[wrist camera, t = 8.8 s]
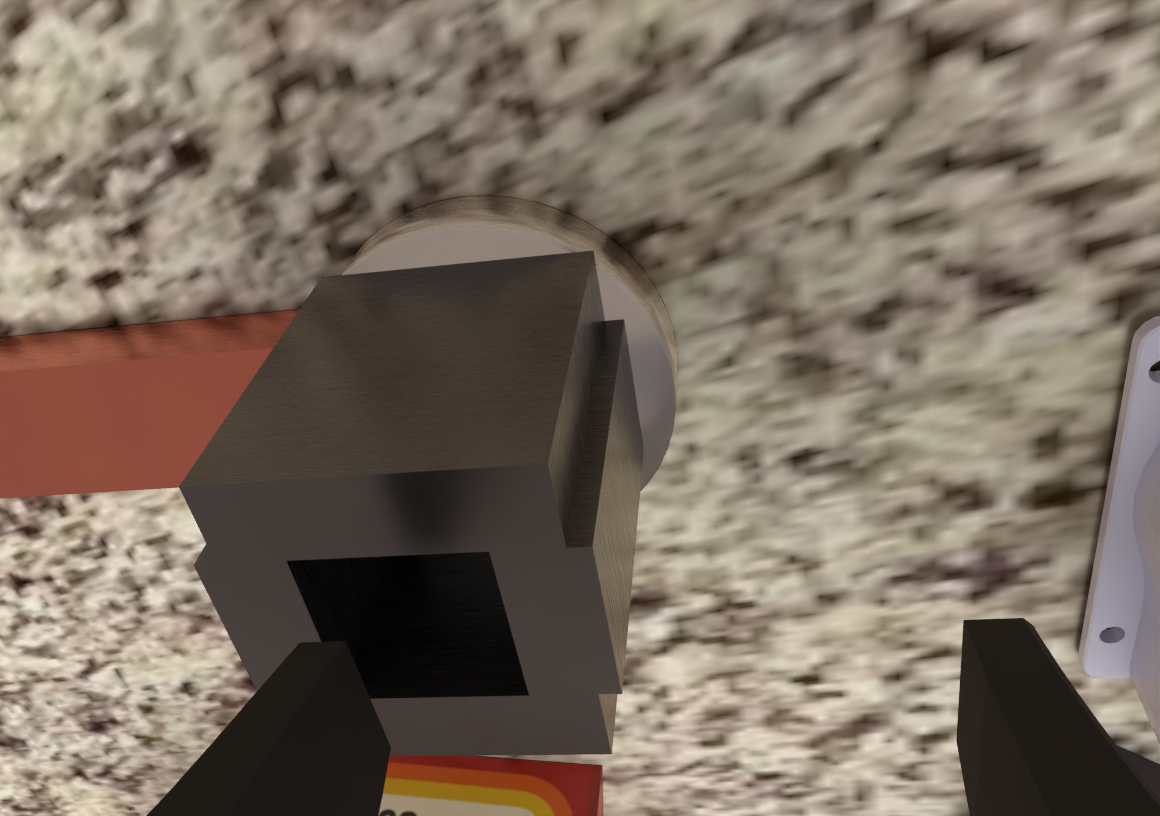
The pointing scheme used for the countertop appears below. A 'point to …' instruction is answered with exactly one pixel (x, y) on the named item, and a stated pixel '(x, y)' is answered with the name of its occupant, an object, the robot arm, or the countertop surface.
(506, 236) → the ratchet
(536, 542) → the socket
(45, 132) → the countertop surface
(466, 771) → the baking soda box
